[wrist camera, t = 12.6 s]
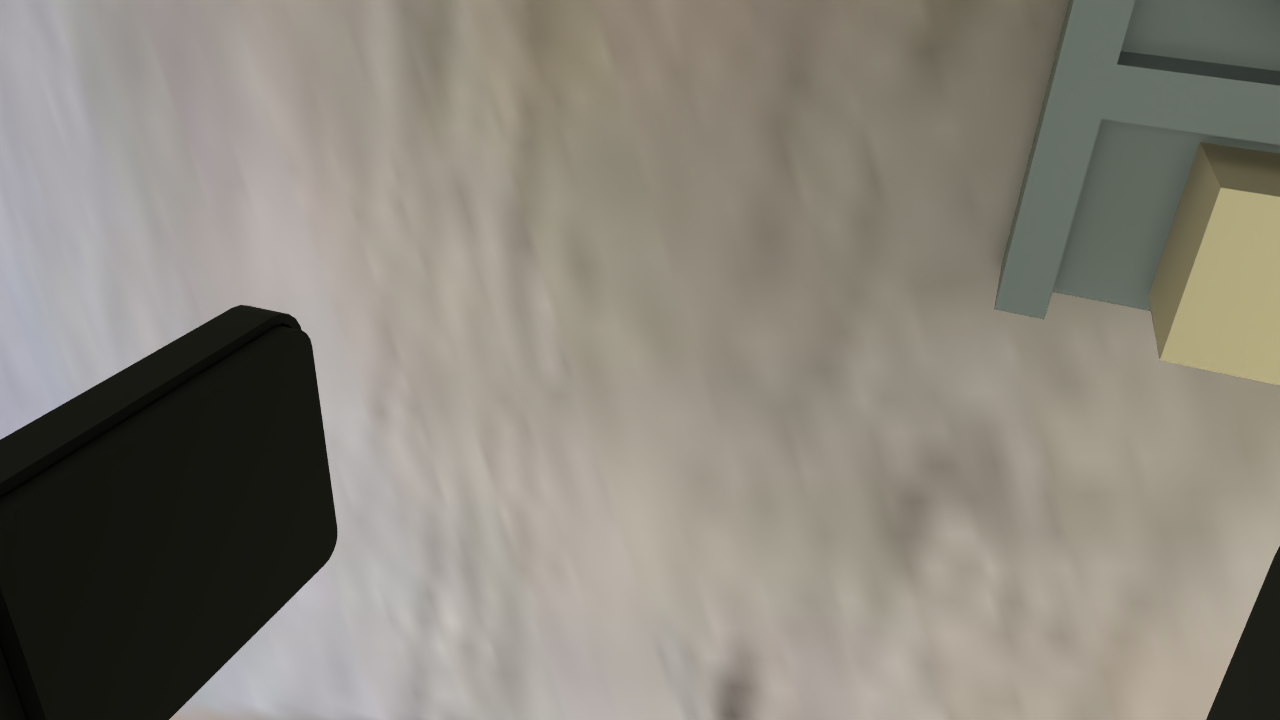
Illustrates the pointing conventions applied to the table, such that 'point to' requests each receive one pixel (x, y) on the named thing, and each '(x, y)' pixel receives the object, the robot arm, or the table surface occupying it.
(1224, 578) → the table surface
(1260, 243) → the rail rack
